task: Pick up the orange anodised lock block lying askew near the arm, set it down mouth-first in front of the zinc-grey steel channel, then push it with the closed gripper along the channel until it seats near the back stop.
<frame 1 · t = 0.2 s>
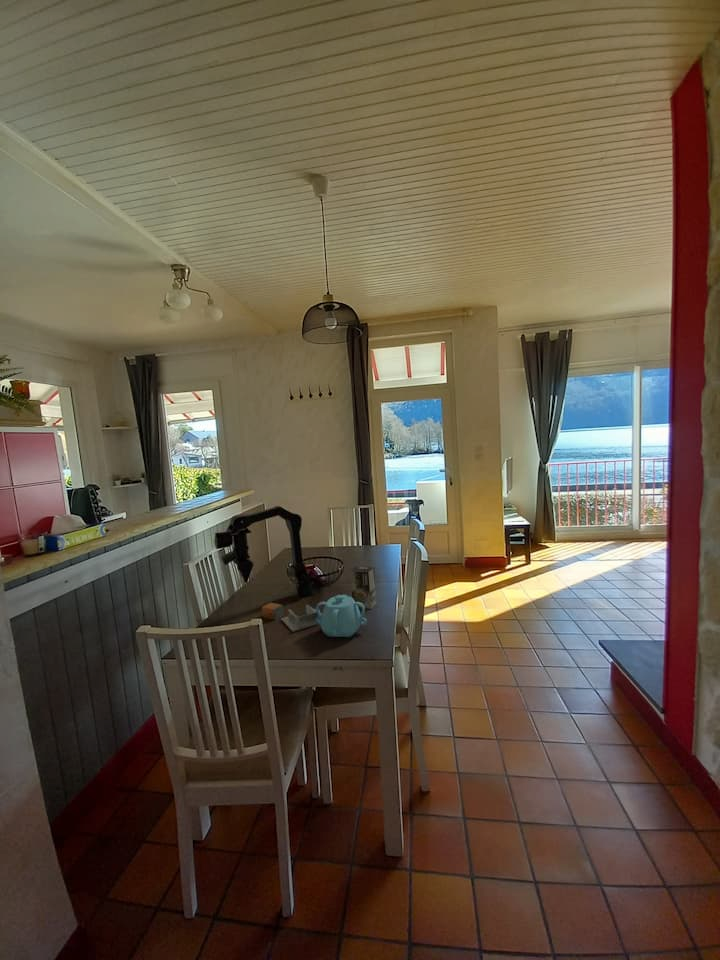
hand: (244, 579, 169), 14 cm above the table, fingers open, 9 cm apart
coffee box: (364, 605, 168), on the table
lock block: (273, 616, 163), on the table
channel: (304, 620, 157), on the table
decorative pot: (342, 631, 145), on the table
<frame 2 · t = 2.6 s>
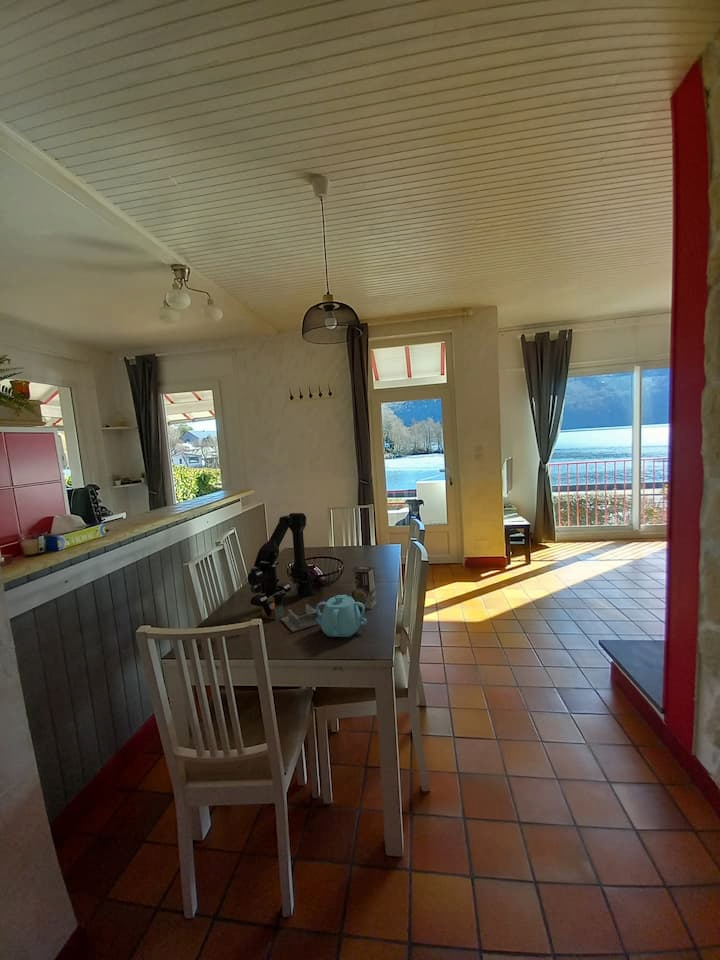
hand: (273, 613, 163), 1 cm above the table, fingers closed on lock block, 5 cm apart
lock block: (273, 616, 163), on the table, touching gripper
everything else where it was.
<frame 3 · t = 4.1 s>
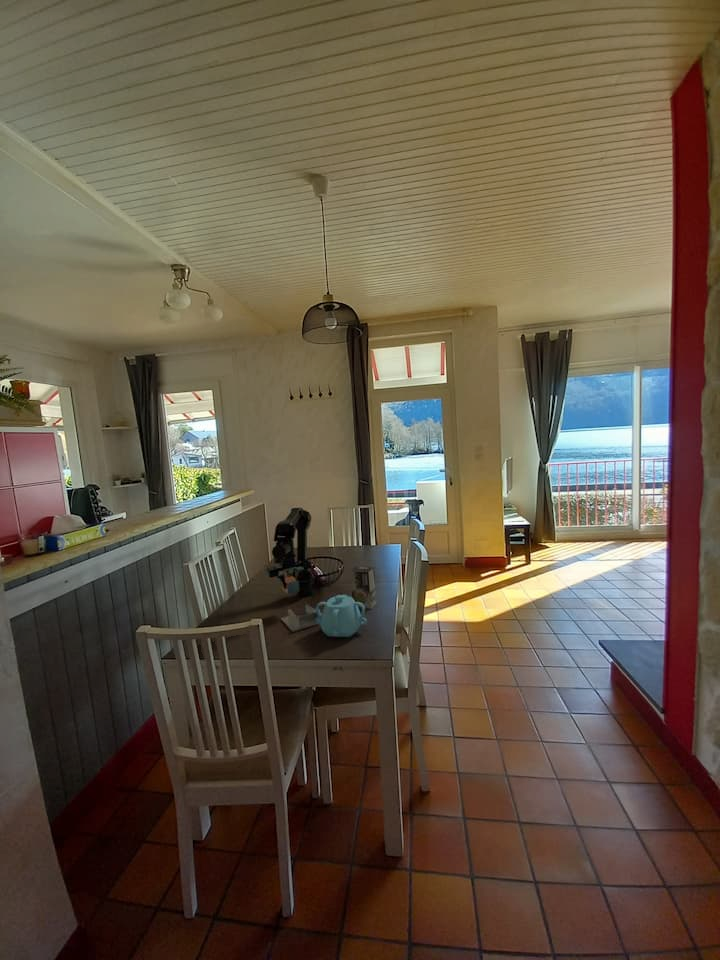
hand: (290, 587, 165), 11 cm above the table, fingers closed on lock block, 5 cm apart
lock block: (291, 590, 165), point 10 cm above the table, touching gripper
everything else where it was.
when the fingers open (1 cm above the table, at t = 5.6 s): lock block stays where it is, on the table.
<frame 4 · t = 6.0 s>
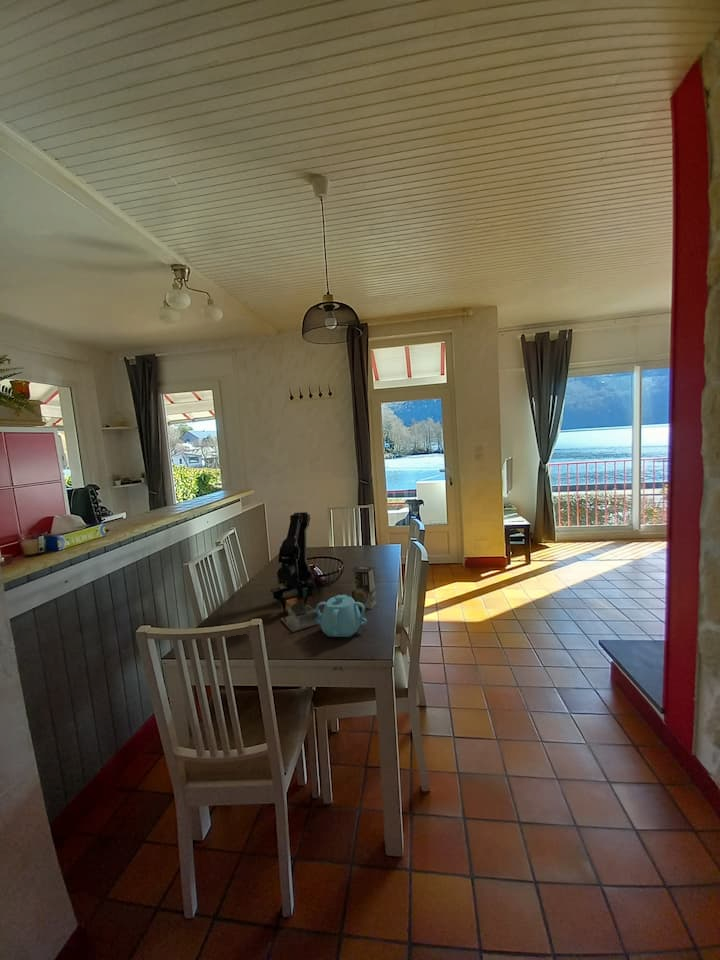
hand: (294, 608, 166), 1 cm above the table, fingers open, 9 cm apart
lock block: (294, 611, 166), on the table
everything else where it was.
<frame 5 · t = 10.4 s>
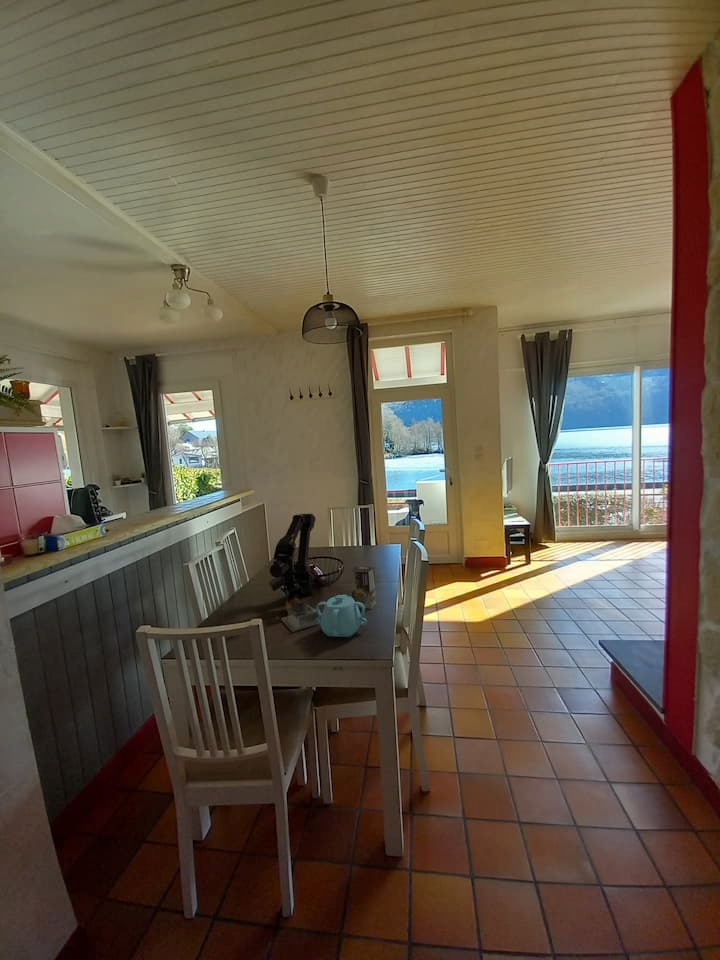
hand: (290, 604, 170), 2 cm above the table, fingers closed
lock block: (295, 611, 166), on the table, touching gripper
everything else where it was.
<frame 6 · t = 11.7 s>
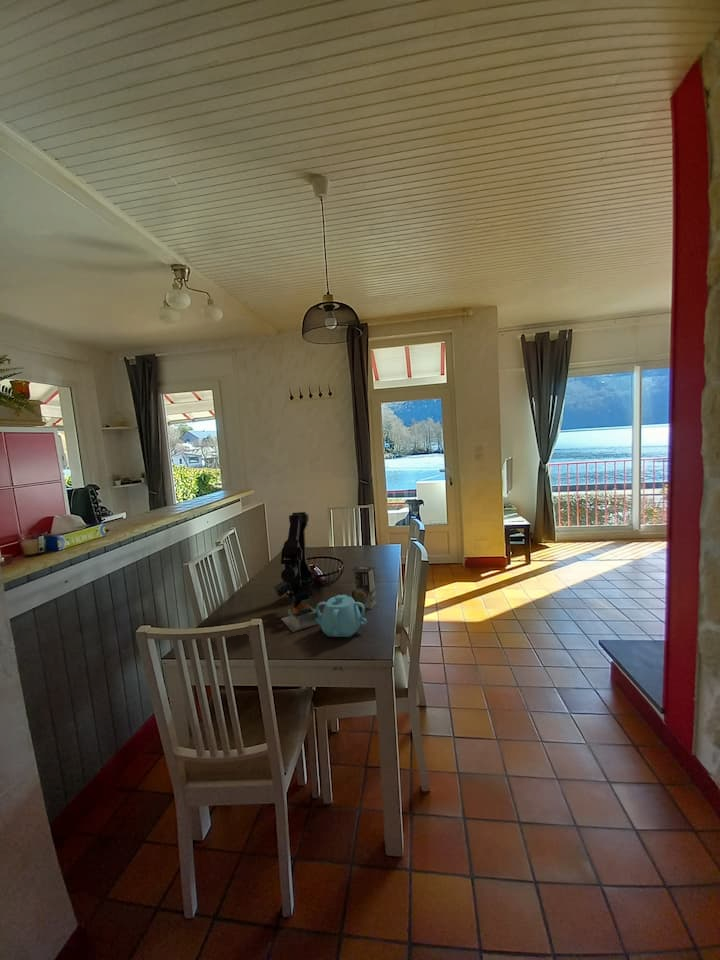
hand: (296, 609, 163), 2 cm above the table, fingers closed
lock block: (302, 617, 159), on the table, touching gripper
everything else where it was.
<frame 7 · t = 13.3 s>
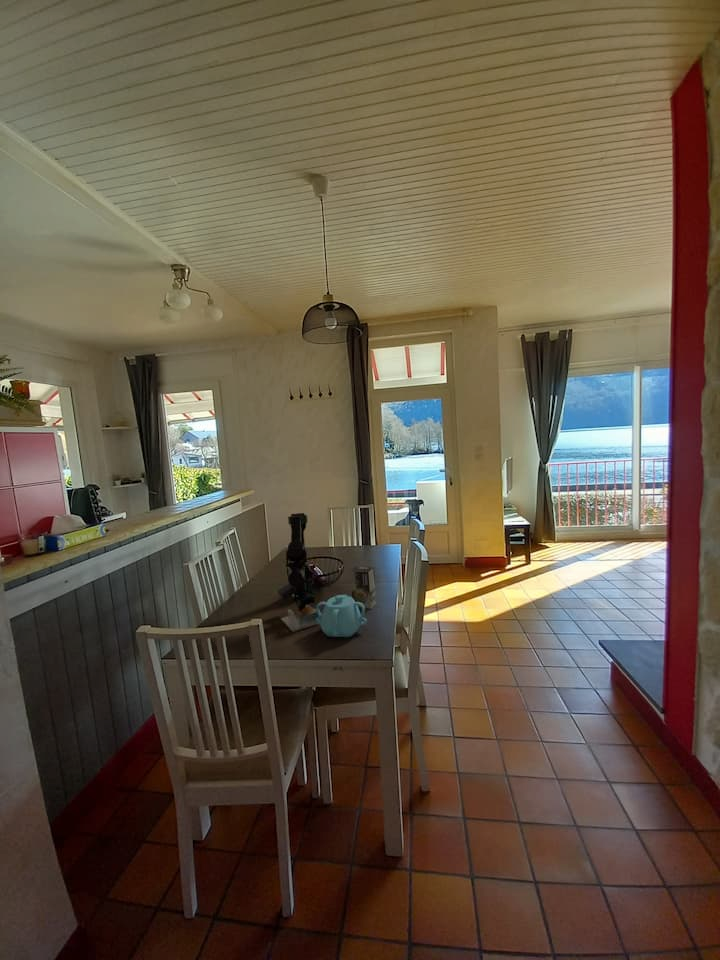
hand: (300, 613, 159), 2 cm above the table, fingers closed
lock block: (307, 621, 155), on the table, touching channel, gripper
everything else where it was.
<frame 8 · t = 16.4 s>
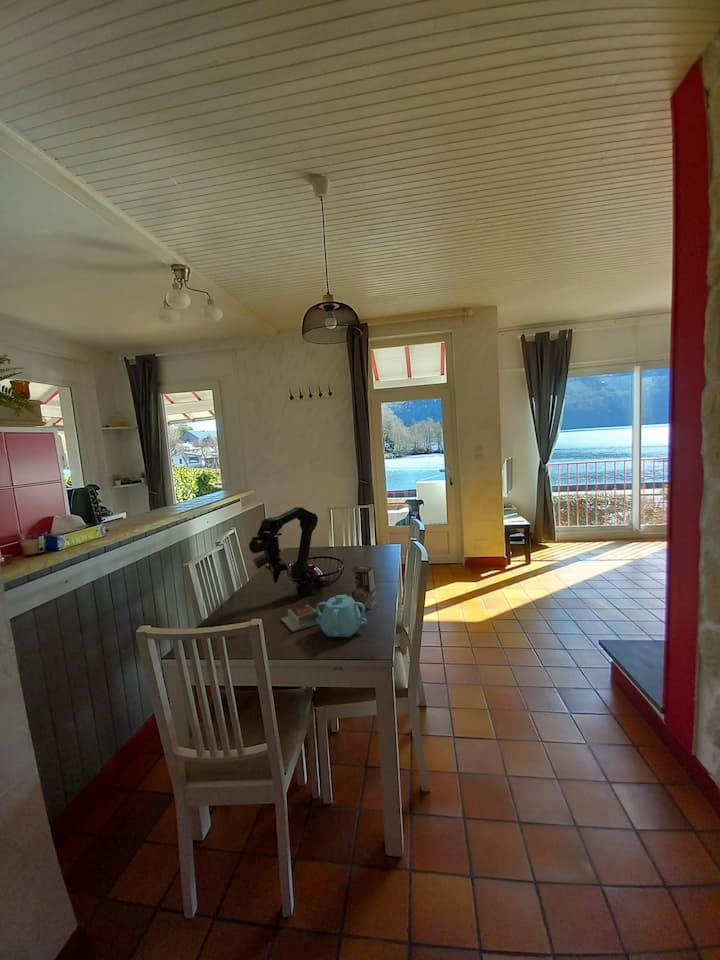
hand: (275, 582, 169), 12 cm above the table, fingers closed
lock block: (307, 622, 155), on the table
everything else where it was.
at the end: lock block 0.8 cm from the target spot on the channel, point 0.0 cm above the channel's base; lock block tilted 0°; the gripper is holding nothing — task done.
